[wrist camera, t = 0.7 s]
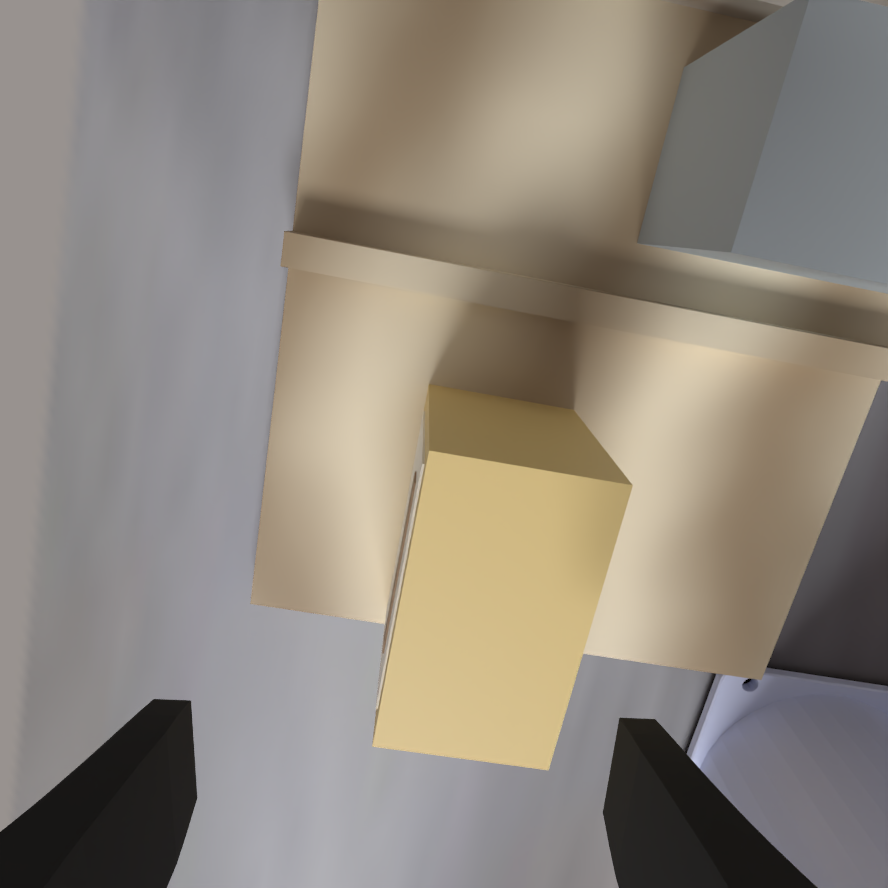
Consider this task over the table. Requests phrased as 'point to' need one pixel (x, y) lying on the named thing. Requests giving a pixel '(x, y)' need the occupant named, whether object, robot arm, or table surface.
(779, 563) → the beige divided tray
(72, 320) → the table surface
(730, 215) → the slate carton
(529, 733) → the ochre carton
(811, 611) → the table surface
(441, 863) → the table surface
